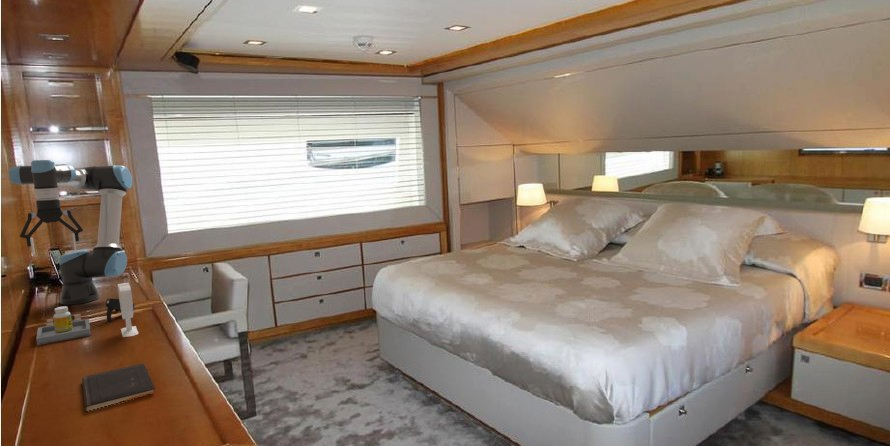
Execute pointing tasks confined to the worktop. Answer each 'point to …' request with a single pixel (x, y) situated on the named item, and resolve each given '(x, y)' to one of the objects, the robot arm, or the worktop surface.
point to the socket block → (73, 317)
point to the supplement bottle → (62, 320)
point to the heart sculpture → (126, 309)
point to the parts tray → (50, 336)
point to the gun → (113, 307)
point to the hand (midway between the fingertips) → (55, 252)
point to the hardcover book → (115, 386)
